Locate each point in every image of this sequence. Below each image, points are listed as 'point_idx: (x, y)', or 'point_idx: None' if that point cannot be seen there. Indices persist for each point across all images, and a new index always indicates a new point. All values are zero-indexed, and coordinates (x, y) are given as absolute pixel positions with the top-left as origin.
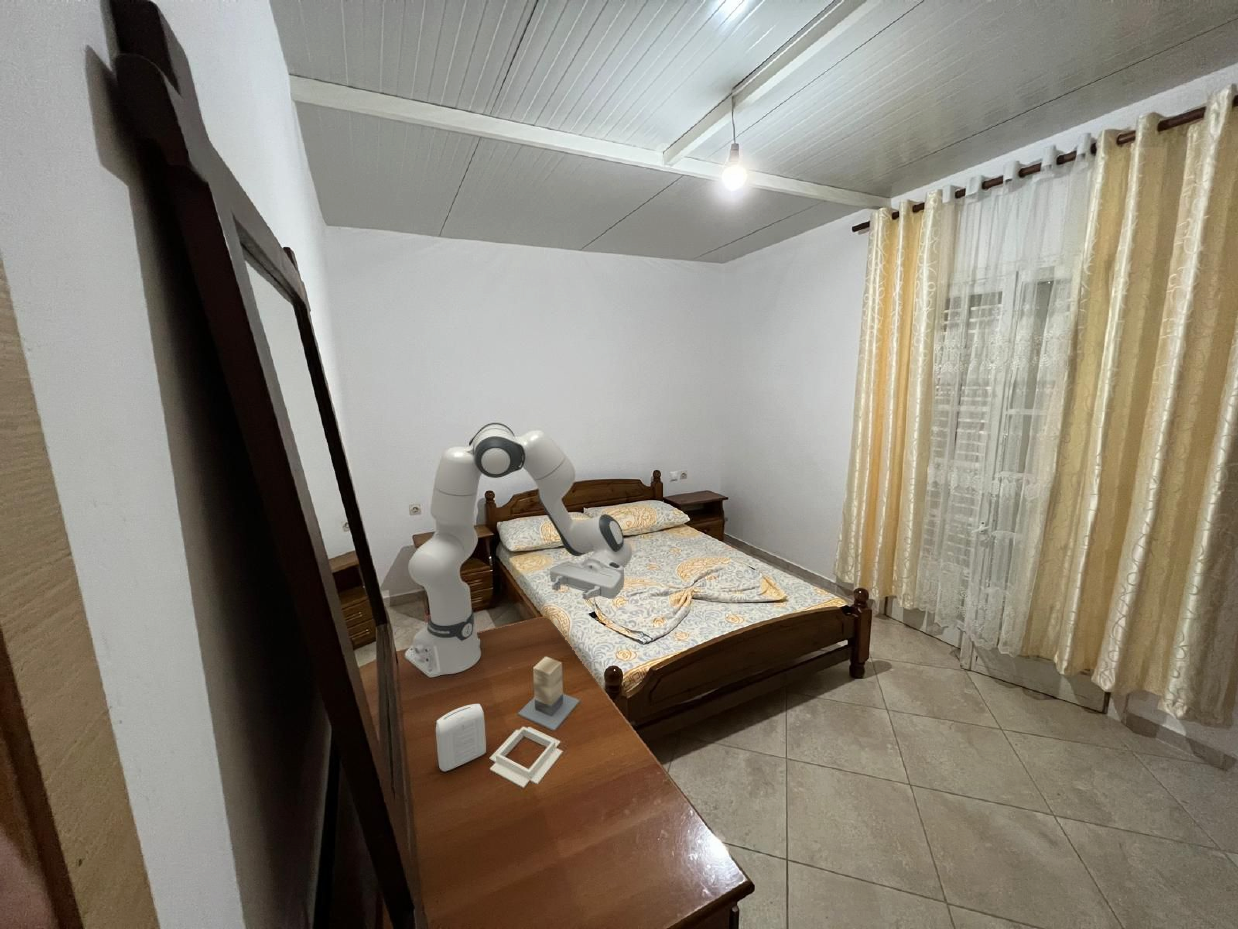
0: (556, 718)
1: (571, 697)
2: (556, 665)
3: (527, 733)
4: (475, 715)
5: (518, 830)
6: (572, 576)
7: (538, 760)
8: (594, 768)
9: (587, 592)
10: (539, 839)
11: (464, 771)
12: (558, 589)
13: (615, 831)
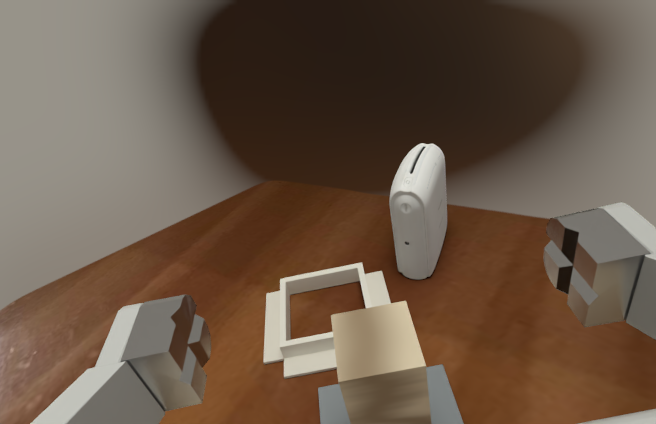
0: (340, 418)
1: None
2: (343, 356)
3: None
4: (393, 183)
5: (248, 248)
6: (612, 421)
7: (281, 300)
8: None
9: (132, 321)
10: (214, 257)
11: None
12: (570, 296)
13: (108, 321)
